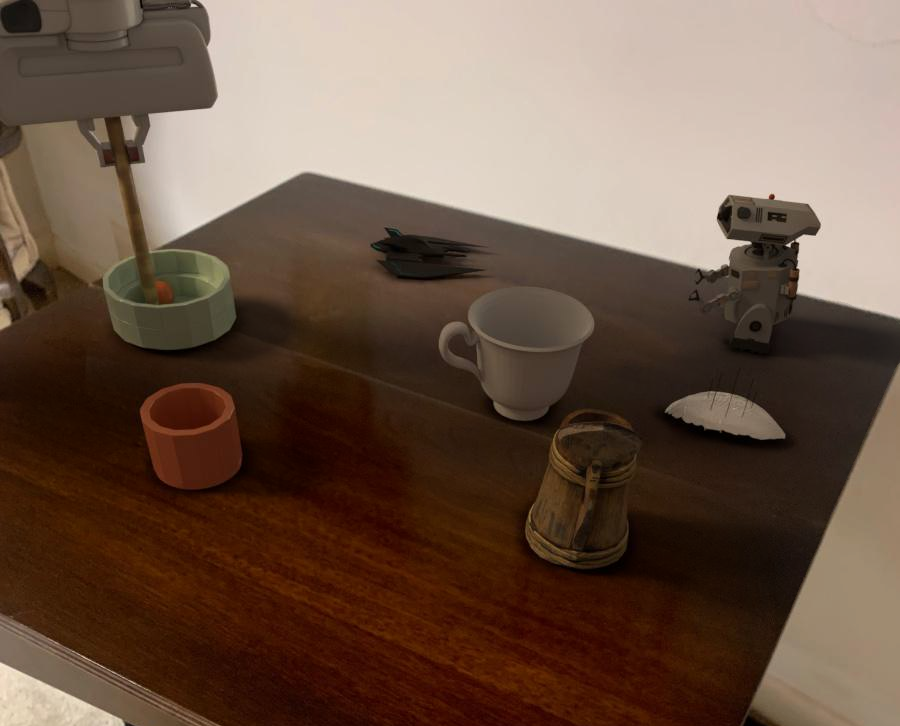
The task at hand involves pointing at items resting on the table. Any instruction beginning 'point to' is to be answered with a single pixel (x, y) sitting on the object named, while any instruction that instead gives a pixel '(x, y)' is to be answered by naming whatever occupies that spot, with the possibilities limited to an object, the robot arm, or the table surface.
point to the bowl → (194, 308)
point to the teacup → (522, 347)
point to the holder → (192, 435)
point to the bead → (165, 293)
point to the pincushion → (726, 414)
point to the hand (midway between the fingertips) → (121, 163)
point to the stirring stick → (132, 209)
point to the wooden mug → (585, 492)
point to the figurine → (759, 265)
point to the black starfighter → (418, 255)
